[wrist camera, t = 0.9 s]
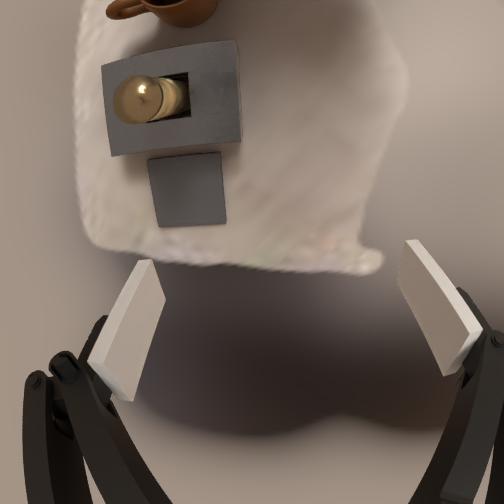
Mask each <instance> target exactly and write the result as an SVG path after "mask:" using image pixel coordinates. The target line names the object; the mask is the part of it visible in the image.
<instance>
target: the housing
mask: <svg viewBox="0 0 504 504" xmlns="http://www.w3.org/2000/svg"><path fill="white" fill-rule="evenodd" d="M101 70H102V84H103V96H104V106H105V114H106V122H107V130H108V137H109V143H110V150H111V156H112V157H114V156H119V155H124V154H130V153H136V152H143V151H149V150H156V149H163V148H171V147H179V146H188V145H198V144H209V143H221V142H236V141H241V139H242V136H243V132H242V115H241V97H240V79H239V61H238V47H237V44H236V41H235V40H225V41H214V42H206V43H198V44H191V45H185V46H179V47H173V48H168V49H163V50H158V51H153V52H149V53H145V54H140V55H136V56H133V57H129V58H125V59H122V60H118V61H115V62H111V63H108V64H105V65H102V66H101ZM133 75H145V76H152V77H159V78H165V79H172V78H178V77H185V76H188V79H189V93H190V105H191V115H189V116H181V117H174V118H167V119H161V120H160V118H158V119H155V120H151V121H148V122H144V123H141V124H136V125H131V124H127V123H125V122H123V121H121V120H120V119H119V118H118V117H117V115H116V114H115V112H114V109H113V95H114V92H115V90H116V88H117V87H118V85H119V84H120V83H121V82H122V81H123V80H125V79H126V78H128V77H130V76H133Z"/></svg>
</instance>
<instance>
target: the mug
mask: <svg viewBox="0 0 504 504" xmlns="http://www.w3.org/2000/svg"><path fill="white" fill-rule="evenodd" d="M217 2H218V0H115V1H114V2H112V3H111V4H110V5H109V6H108V7H107V9H106V15H107V17H109V18H110V19H114V20H121V19H127V18H131V17H134V16H137V15H139V14H142V13H146V12H152V13H154V14H155V15H157V16H158V17H159V18H161V19H162V20H164V21H165V22H167V23H168V24H170V25H173V26H177V27H191V26H195V25H198V24H200V23H202V22H204V21H205V20H207V19H208V18H209V17H210V16H211V15H212V14H213V12H214V11H215V9H216V6H217Z"/></svg>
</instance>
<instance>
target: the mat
mask: <svg viewBox="0 0 504 504" xmlns="http://www.w3.org/2000/svg"><path fill="white" fill-rule="evenodd" d="M147 165H148V172H149V178H150V184H151V189H152V195H153V201H154V206H155V211H156V216H157V221H158V226H159V227H166V226H183V225H200V224H220V223H226V210H225V199H224V188H223V176H222V164H221V152H211V153H200V154H189V155H180V156H171V157H163V158H155V159H149V160H147Z"/></svg>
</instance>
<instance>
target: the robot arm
mask: <svg viewBox="0 0 504 504" xmlns="http://www.w3.org/2000/svg"><path fill="white" fill-rule="evenodd" d="M396 283H397V284H398V286H399V288H400V290H401V292H402V293H403V295H404V297H405V299H406V301H407V303H408V304H409V306H410V308H411V310H412V312H413V314H414V316H415V317H416V320H417V321H418V323H419V325H420V327H421V329H422V331H423V333H424V335H425V337H426V339H427V341H428V343H429V345H430V348H431V350H432V352H433V354H434V356H435V358H436V361H437V363H438V365H439V367H440V370H441V371H442V374H443V376H446V375H449V374H452V373H455V372H457V370H458V369H459V367H460V366H461V365H462V364H463V366H464V368H465V370H464V371H463V373H462V374H461V375H460V377H459V378H458V379H457V381H456V383H455V384H458V382H459V381H460V383H459V387H458V390H457V393H456V397H455V400H454V403H453V406H452V409H451V412H450V415H449V418H448V421H447V423H446V426H445V429H444V431H443V434H442V436H441V439H440V441H439V444H438V446H437V448H436V451H435V453H434V455H433V457H432V460H431V462H430V464H429V466H428V468H427V470H426V472H425V474H424V476H423V478H422V480H421V482H420V484H419V485H418V487H417V489H416V491H415V493H414V495H413V496H412V498H411V500H410V502H409V503H408V504H473V500H474V498H475V495H476V493H477V491H478V488H479V486H480V483H481V481H482V478H483V475H484V472H485V470H486V467H487V464H488V461H489V458H490V455H491V451H492V448H493V445H494V450H493V459H492V466H491V474H490V480H489V486H488V491H487V495H486V500H485V504H504V334H503V333H502V332H500V331H498V330H492V329H491V327H490V326H489V325H488V323H487V321H486V320H485V318H484V317H483V315H482V314H481V312H480V311H479V309H477V306H476V305H475V304H474V303H473V301H472V299H471V298H470V297H469V295H468V294H467V293H466V292H465V291H464V290H462V289H461V288H460V287H458V288H455V287H454V286H453V284H452V283H451V281H450V280H449V279H448V278H447V276H446V275H445V273H444V272H443V271H442V270H441V268H439V266H438V264H437V263H436V262H435V261H434V259H433V258H432V257H431V256H430V255H429V253H428V252H427V251H426V250H425V248H424V247H423V246H422V245H421V244H420V242H419V241H418V240H417V239H416V240H405V244H404V249H403V254H402V259H401V263H400V268H399V272H398V276H397V280H396ZM165 300H166V299H165V296H164V293H163V291H162V288H161V285H160V282H159V279H158V276H157V273H156V271H155V268H154V265H153V262H152V259H148V260H139V261H138V262H137V264H136V266H135V268H134V270H133V272H132V273H131V275H130V277H129V279H128V280H127V282H126V284H125V286H124V288H123V289H122V291H121V293H120V295H119V297H118V299H117V301H116V303H115V305H114V306H113V309H112V311H111V312H110V314H109V315H103V316H102V317H101V318H100V319H99V320H98V321H97V322H96V323H95V325H94V327H93V329H92V331H91V332H92V333H90V335H89V337H88V340H87V341H86V343H85V345H84V347H83V349H82V352H81V353H80V356H79V358H78V360H77V359H76V358H75V356H74V355H73V354H72V353H71V352H69V351H62V352H59V353H57V354H56V355H55V356H54V357H53V358H52V359H51V361H50V363H49V371H50V372H51V373H52V375H53V377H48V376H47V375H46V374H45V373H44V372H43V371H40V370H37V371H35V372H32V373H31V374H30V375H29V376H28V378H27V379H26V382H25V389H24V401H23V425H22V426H23V428H22V429H23V430H22V431H23V432H22V434H23V435H22V436H23V438H22V441H23V464H24V476H25V485H26V492H27V500H28V504H93V501H92V497H91V493H90V489H89V485H88V480H87V476H86V471H85V466H84V460H83V456H84V459H85V461H86V464H87V465H88V468H89V470H90V472H91V475H92V477H93V479H94V481H95V483H96V485H97V487H98V489H99V491H100V493H101V495H102V497H103V499H104V501H105V503H106V504H173V503H172V502H171V501H170V499H169V498H168V497H167V495H166V494H165V492H164V491H163V490H162V488H161V487H160V485H159V484H158V482H157V481H156V479H155V478H154V476H153V475H152V473H151V471H150V470H149V468H148V467H147V465H146V464H145V462H144V461H143V459H142V457H141V455H140V454H139V452H138V450H137V449H136V447H135V445H134V443H133V441H132V440H131V438H130V436H129V434H128V432H127V430H126V428H125V426H124V425H123V423H122V421H121V419H120V417H119V415H118V413H117V410H116V408H115V406H114V404H113V402H112V401H111V400H110V397H111V394H112V393H113V394H114V395H115V396H116V398H117V399H119V400H126V401H133V400H134V396H135V393H136V389H137V385H138V382H139V379H140V376H141V372H142V369H143V366H144V363H145V359H146V357H147V353H148V350H149V347H150V344H151V341H152V338H153V335H154V332H155V329H156V326H157V323H158V320H159V317H160V314H161V312H162V309H163V306H164V303H165Z"/></svg>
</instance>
